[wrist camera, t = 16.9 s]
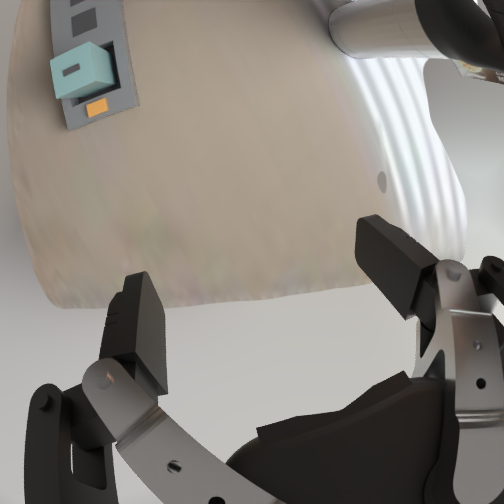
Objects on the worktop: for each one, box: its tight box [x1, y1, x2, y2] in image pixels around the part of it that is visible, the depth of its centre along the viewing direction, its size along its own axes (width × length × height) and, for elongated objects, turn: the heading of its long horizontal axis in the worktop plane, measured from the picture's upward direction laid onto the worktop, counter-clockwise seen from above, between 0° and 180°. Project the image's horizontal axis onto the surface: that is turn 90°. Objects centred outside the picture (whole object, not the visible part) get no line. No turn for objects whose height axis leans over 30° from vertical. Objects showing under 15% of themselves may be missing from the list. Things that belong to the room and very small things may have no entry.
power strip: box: [50, 0, 140, 131], centre depth 20 cm, size 22×9×4 cm, turn 8°
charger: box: [50, 42, 117, 99], centre depth 21 cm, size 4×4×9 cm
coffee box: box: [452, 59, 504, 84], centre depth 24 cm, size 9×6×16 cm
